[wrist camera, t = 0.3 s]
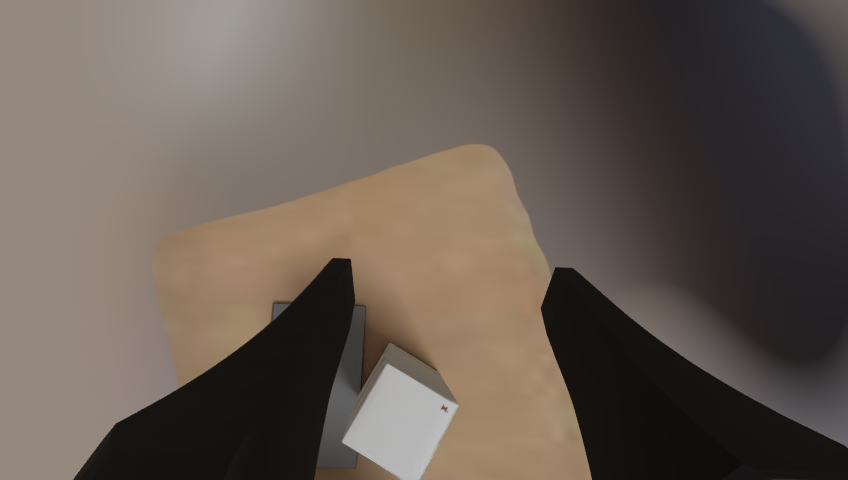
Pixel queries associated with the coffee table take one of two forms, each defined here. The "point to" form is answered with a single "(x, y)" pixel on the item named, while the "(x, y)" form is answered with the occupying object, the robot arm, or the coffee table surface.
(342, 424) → the mat
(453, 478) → the coffee table surface
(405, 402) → the supplement box
